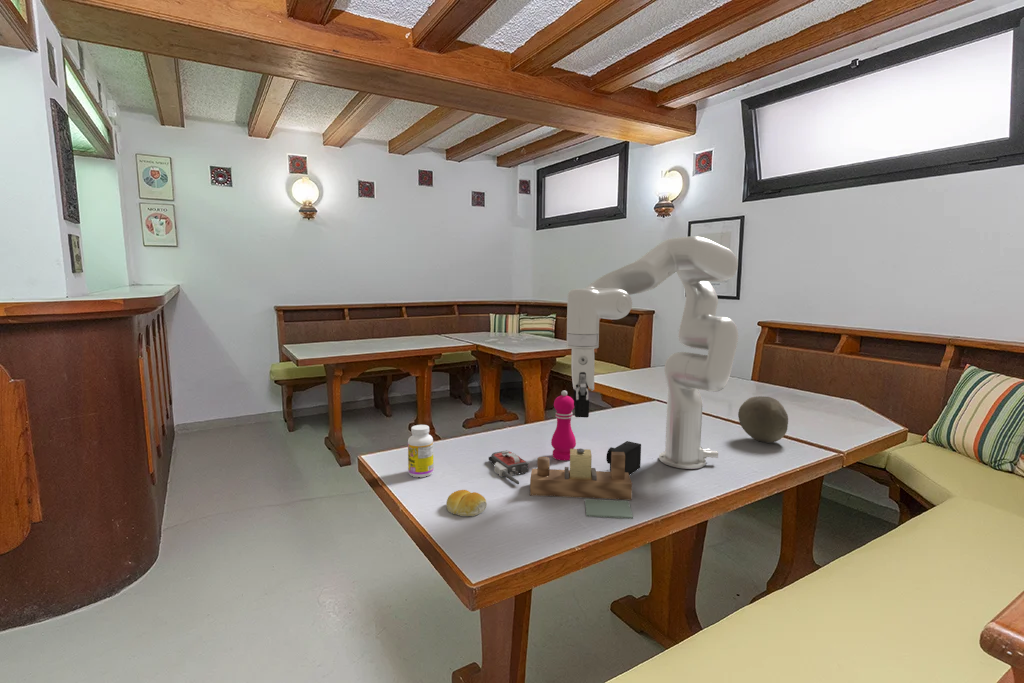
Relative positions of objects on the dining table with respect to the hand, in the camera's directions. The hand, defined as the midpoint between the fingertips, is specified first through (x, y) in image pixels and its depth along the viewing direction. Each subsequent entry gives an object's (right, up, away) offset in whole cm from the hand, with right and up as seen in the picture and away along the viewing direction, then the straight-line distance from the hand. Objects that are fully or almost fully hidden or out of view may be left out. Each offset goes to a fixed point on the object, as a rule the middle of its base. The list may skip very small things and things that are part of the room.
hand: (580, 411), depth 118 cm
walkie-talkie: (-17, -19, +15) cm, 30 cm away
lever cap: (0, -16, +2) cm, 16 cm away
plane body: (0, -20, +2) cm, 20 cm away
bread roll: (-27, -21, -7) cm, 35 cm away
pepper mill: (-1, -17, +26) cm, 32 cm away
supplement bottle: (-41, -19, +14) cm, 47 cm away
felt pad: (+5, -21, -7) cm, 23 cm away
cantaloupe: (+64, -16, +41) cm, 78 cm away
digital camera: (+14, -19, +16) cm, 28 cm away
